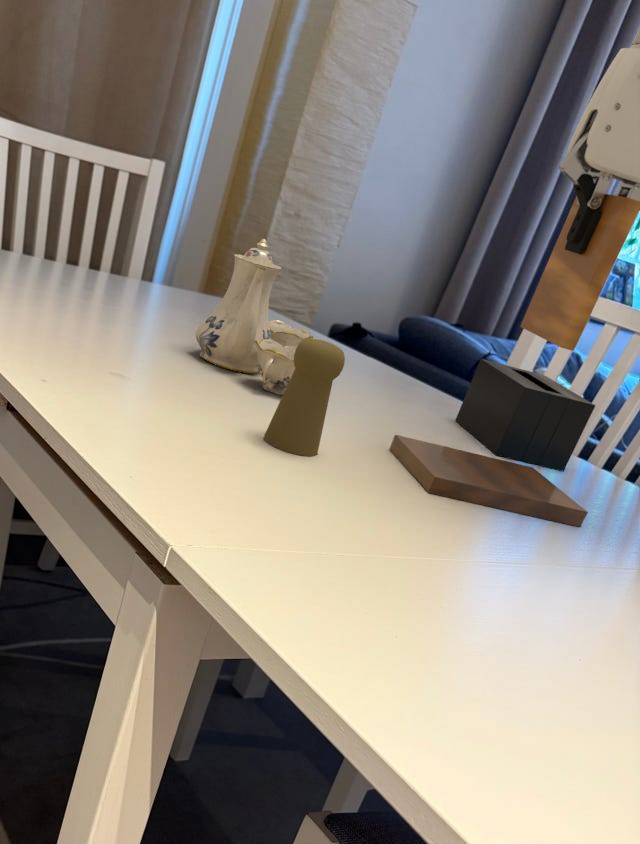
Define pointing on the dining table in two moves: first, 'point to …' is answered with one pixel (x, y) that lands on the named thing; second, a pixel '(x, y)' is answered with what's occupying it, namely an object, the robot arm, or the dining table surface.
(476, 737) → the dining table surface
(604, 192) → the robot arm
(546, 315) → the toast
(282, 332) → the chinaware
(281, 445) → the cork
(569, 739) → the dining table surface
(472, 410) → the grooved black box
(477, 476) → the breadboard
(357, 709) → the dining table surface
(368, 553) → the dining table surface
